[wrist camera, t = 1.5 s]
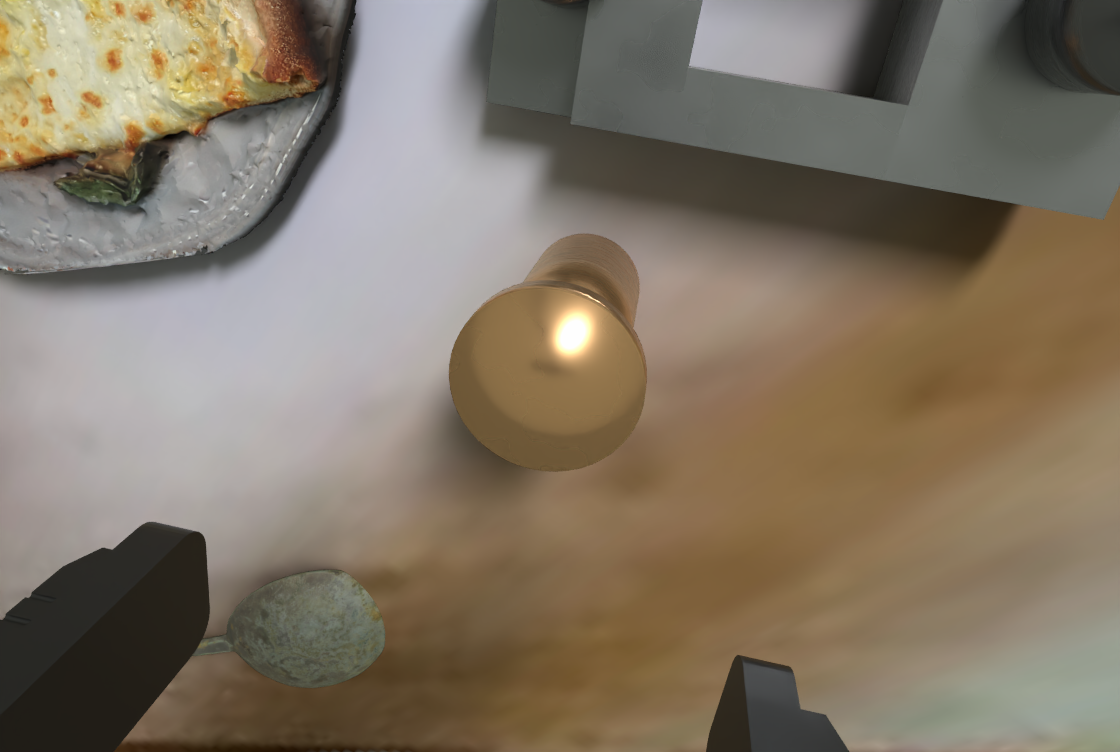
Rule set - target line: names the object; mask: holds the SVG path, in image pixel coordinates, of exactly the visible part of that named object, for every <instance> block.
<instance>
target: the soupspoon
mask: <svg viewBox="0 0 1120 752" xmlns="http://www.w3.org/2000/svg"><path fill="white" fill-rule="evenodd" d="M384 645H385V629H384V624H383V620H382V616H381V614H380V612H379V610H378V608H377V606H376V604H375V603H374V601H373V599H372V598H371V597H370V595H369V594H368V593H367V591H366V590H365V589H364V588H363V587H362V586H361V585H360V584H359V583H358V582H357V581H356V580H355V579H353V578H352V577H351V576H349V575H348V574H347V573H345V572H344V571H341V570H316V571H308V572H304V573H299V574H295V575H291V576H288V577H284V578H281V579H278V580H276V581H273V582H270V583H269V584H267V585H265V586H263V587H261V588H260V589H258V590H256V591H255V592H253V593H251V594H250V595H249V596H248V597H246V598H245V599H244V600H243V601H242V602H241V603H240V604H239V605H238V606H237V607H236V609H235V610H234V612H233V613H232V615H231V616H230V618H229V621H228V625H227V634H226V635H221V636H216V637H211V638H205V639H202V641H201V642H200V644H199V646H198V648H197V649H196V651H195V652H194V654H193V655H192V656H198V655H206V654H215V653H221V652H230V651H235V652H236V653H237V654H238V655H239V656H240V657H241V658H242V659H243V660H244V661H245V662H246V663H247V664H249V665H250V666H251V667H252V668H253V669H255V670H256V671H258V672H259V673H261V674H263V675H265V676H266V677H268V678H271V679H273V680H275V681H278V682H280V683H283V684H286V685H289V686H295V687H304V688H317V687H325V686H330V685H334V684H338V683H340V682H343V681H346V680H348V679H350V678H353V677H355V676H357V675H359V674H361V673H362V672H363V671H365V670H366V669H367V668H368V667H369V666H370V665H371V664H372V663H373V662H374V661H375V660H376V659H377V657H378V656H379V655H380V654H381V653H382V651H383V649H384Z"/></svg>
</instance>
